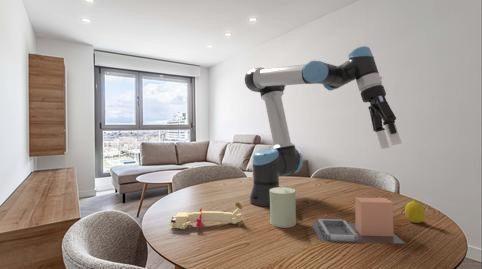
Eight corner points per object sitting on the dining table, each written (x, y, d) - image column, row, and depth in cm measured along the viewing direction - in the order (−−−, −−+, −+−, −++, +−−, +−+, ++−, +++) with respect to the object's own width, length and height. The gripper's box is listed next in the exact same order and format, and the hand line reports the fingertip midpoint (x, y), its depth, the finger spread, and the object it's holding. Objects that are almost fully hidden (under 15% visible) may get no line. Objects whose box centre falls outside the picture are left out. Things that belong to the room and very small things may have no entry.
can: (280, 229, 80) (279, 193, 80) (264, 220, 88) (264, 187, 88) (301, 224, 85) (301, 189, 84) (285, 216, 93) (284, 184, 92)
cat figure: (239, 221, 92) (171, 221, 88) (240, 198, 92) (172, 197, 88) (243, 232, 83) (167, 232, 79) (245, 206, 83) (169, 205, 79)
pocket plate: (319, 243, 70) (319, 236, 70) (311, 224, 84) (311, 218, 84) (405, 246, 67) (405, 238, 67) (382, 226, 81) (382, 219, 81)
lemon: (426, 228, 79) (425, 204, 79) (405, 225, 82) (405, 201, 82) (424, 223, 83) (424, 199, 83) (404, 220, 86) (404, 197, 86)
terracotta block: (361, 235, 73) (361, 202, 73) (355, 228, 78) (355, 197, 78) (393, 236, 72) (393, 202, 72) (385, 229, 77) (385, 197, 77)
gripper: (392, 72, 74) (416, 139, 70) (375, 95, 98) (392, 147, 94) (366, 79, 76) (388, 145, 72) (355, 101, 100) (371, 151, 95)
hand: (390, 146), depth 83 cm, fingers open, 13 cm apart
